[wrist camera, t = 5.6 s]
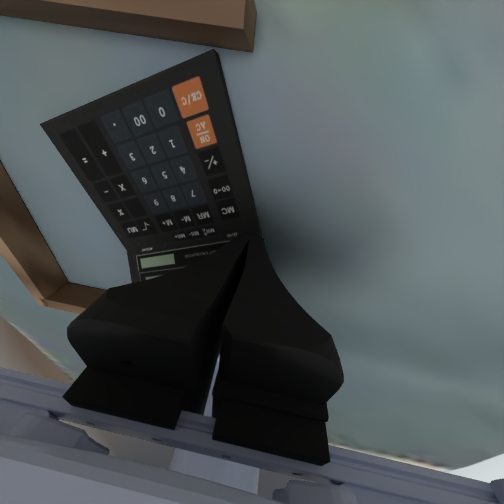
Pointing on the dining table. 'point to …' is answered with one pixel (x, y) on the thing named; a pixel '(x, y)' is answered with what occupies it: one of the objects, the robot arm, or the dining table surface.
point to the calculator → (163, 165)
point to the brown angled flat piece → (123, 21)
